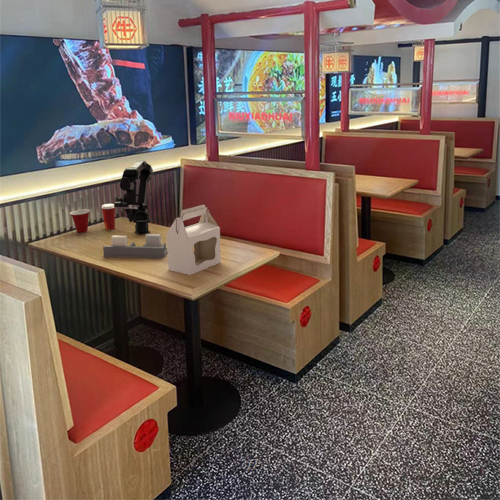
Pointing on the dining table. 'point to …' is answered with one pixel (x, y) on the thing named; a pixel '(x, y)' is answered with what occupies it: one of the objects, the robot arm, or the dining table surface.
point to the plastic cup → (80, 220)
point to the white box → (153, 240)
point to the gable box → (193, 242)
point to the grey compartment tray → (135, 251)
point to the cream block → (119, 240)
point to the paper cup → (109, 216)
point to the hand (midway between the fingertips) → (130, 222)
